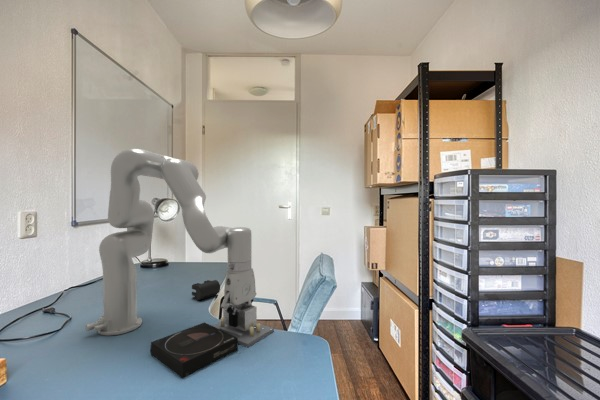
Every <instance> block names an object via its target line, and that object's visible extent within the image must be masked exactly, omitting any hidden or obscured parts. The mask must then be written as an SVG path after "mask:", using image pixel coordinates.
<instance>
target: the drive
mask: <svg viewBox="0 0 600 400" xmlns="http://www.w3.org/2000/svg"><path fill="white" fill-rule="evenodd" d="M228 304H229V303H228ZM232 309H233V306H232ZM222 311H223V312H222V313H223V314H222V317H223V323H224V324H227V325H229V313H227V312H226V311H225V310H224V309H223V308H222ZM236 314H237V327H235V328H237V329H240V330H243V331H247V330H249V329H250V327H251V326H253V327H255V326H256V324H257V323H258V322H257V321H258V320H257V319H258V317H257V306H256V305H253V304H252V305H249V304H246V303H243V304H241V305H238V306H237V310H236ZM229 326H230V325H229ZM232 327H233V326H232Z"/></svg>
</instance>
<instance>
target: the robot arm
mask: <svg viewBox="0 0 600 400" xmlns="http://www.w3.org/2000/svg"><path fill="white" fill-rule="evenodd" d="M110 166H111V167H110V190H109V199H108V200H109V201H108V210H107V211H108V212H107V220H108V223H109V225H110V226H111V227H113V228H116V229H126V230H125V231H118V232H114V233H110V234H108V235H107V236H105V237H103V239H102V240H101V242H100V244H99V247H98V248H99V249H98V251H99V258H100V261H101V267H102V296H103V297H102V307H103V308H102V312H103V313H102V316H99V319H97V320H96V321H95V322H90V323H88V324H85V325H84V327H85V331H86V332H89V331H92V330H94V331H96V332H97V333H98V335H101V336H117V335H123V334H126V333H129V332H132V331H134V330H136V329H138V328H139V327H140V326H141V325H142V323H143V320H142V318H141V317H140V316H138V305H137V304H138V303H137V302H138V299H137V298H138V296H137V295H138V292H137V290H138V288H137V287H138V286H137V285H138V284H137V283H138V282H137V281H138V278H137V268H136V265H135V263H134V260H133V258H137V257H139V256H143V255H145V254H146V253H147V252H148V251H149V250H150V248H151V245H152V242H153V241H152V239H153V233H154V232H153V231H154V221H155V220H154V219H155V218H154V217H155V214H154V213H155V212H154V209H153V207H152V205H151V204H150V203H149V202H147V201H146V200H142V199H140V196H141V184H140V182H139V176H143V177H151V178H156V179H161V180H164V181H165V184H166V185H167V186H168V188H169V190H170V191H171V193H172V195H173V196H174V198H175V199H176V201H177V203H178V204H179V207H180V208H181V215H182V220H183V224H184V228H185V230H186V232H187V233H188V235H189V237H190V239H191V240H192V242H193V243H194V245H195V246H196V248H198V250H200V252H203V253H204V254H213V253H216V252H218V251H220V250H223V249H227V265H226V266H225V269H226V270H227V271H226V273H225V274H226V275H225V280H224V290H223V291H224V292H223V293H224V294H223V296H224V297H223V300H222V303H221V304H220V309H222V310H223V309H224V310H225V311H226V312H227V313H229V325H230V326H233V327H237V314H236V310H237V306H238V305H241V304H243V303H246V304H249V305H253V304H252V303H253V301H254V299H255V297H256V296H257V292H256V290H257V289H256V288H257V287H256V277H255V271H254V268H252V230H251V228H249V227H244V226H243V227H242V226H237V227H236V226H235V227H229V226H223V225H219V226H213V225H212V223H211V222H210V220H209V218H208V217H207V215H206V212H205V202H206V199H207V195H206V193H205V192H204V190H203V188H202V186H201V185H200V184H199V181H198V178H199V170H198V167H197V166H196V165H195V164H194V163H193V162H191V161H189V160H185V159H181V158H174V157H170V156H168V155H164V154H160V153H156V152H154V151H153V152H152V151H150V150H147V149H143V148H126V149H124V150H122V151H121V152H119V153H117V155H116V156H115V157H114V158H113V160H112V162H111V165H110ZM228 303H229V304H228ZM232 306H233V309H232Z"/></svg>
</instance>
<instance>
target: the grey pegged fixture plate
mask: <svg viewBox="0 0 600 400" xmlns="http://www.w3.org/2000/svg"><path fill="white" fill-rule="evenodd" d="M212 326H213V327H215V328H218V329H220V330H222V331H224V332H226V333H228V334H231V335H233V336H235V337H237V338H238V345H241V346H243V347H246V348H249V347H252V345H254V344H256V343H258V342H259V341H261V340H262V339H264V338H265V337H267V336H269V335H270V334H272V333H274V332H275V331H274V329H275V328H274V327H271V326H268V325H265V324H261V323H260V322H257V324H256V326H255V327H256V328H254V327H253V326H251V327H250V329H249V330H247V331H243V330H240V329H237V328H235V327H232V326H229V325H227V324H224V323H223V316H222V317H220V322H218V323H216V324H214V325H212ZM262 328H264V329H262ZM270 329H272V330H270Z"/></svg>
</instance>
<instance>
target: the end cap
mask: <svg viewBox="0 0 600 400" xmlns="http://www.w3.org/2000/svg"><path fill="white" fill-rule="evenodd" d="M191 289H192V290H195V291H191V296H192V300H194V301H198V302H199V301H202V300H206V299H208V298H212V297H214V296H216V295H218V294H219V293H220V291H221V283H220V282H219V281H218V280H217V279H214V280H210V279H207V280H204V281H203V283H199V282H196V283H193V284H192V285H191Z"/></svg>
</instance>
